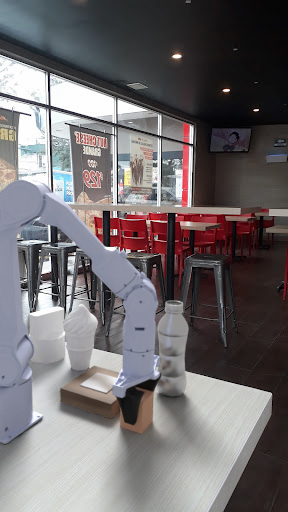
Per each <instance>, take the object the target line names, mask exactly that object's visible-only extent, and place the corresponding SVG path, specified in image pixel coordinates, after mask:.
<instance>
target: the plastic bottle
mask: <svg viewBox="0 0 288 512" xmlns="http://www.w3.org/2000/svg"><path fill="white" fill-rule="evenodd" d="M183 313H184V302H182V301H180V300H167V301H166V302H165V307H164V314H163V316H162V317H161V318H160V320H159V321H158V323H157V336H158V344H159V345H158V347H159V348H158V349H159V355H158V356H160V364H159V366H158V367H157V371H158V372H160V373H161V378H160V380H159V381H158V383H157V385H156V389H157V390H158V392H159V393H160V394H161V395H164V396H166V397H173V398H174V397H179V396H182V394H183V393H184V392H185V390H186V388H187V383H188V381H187V374H186V366H185V365H186V363H185V357H186V355H185V354H186V346H187V341H188V334H189V325H188V322H187V320H186V318H185V317H184V316H183Z"/></svg>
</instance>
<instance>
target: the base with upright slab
mask: <svg viewBox="0 0 288 512" xmlns="http://www.w3.org/2000/svg"><path fill="white" fill-rule="evenodd" d="M28 314H29V318H28V319H29V333H28V334H29V337H30V339H31V340H32V342H33V344H34V354H33V357H32V358H31V359H30V361H31V362H33V363H36V364H53V363H57V362H60V361H62V360H64V358H65V357H66V335H65V329H64V327H63V325H64V324H63V321H64V320H65V308H63V307H61V306H53V307H49V308H45V309H41V310H37V311H34V312H30V313H28Z"/></svg>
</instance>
